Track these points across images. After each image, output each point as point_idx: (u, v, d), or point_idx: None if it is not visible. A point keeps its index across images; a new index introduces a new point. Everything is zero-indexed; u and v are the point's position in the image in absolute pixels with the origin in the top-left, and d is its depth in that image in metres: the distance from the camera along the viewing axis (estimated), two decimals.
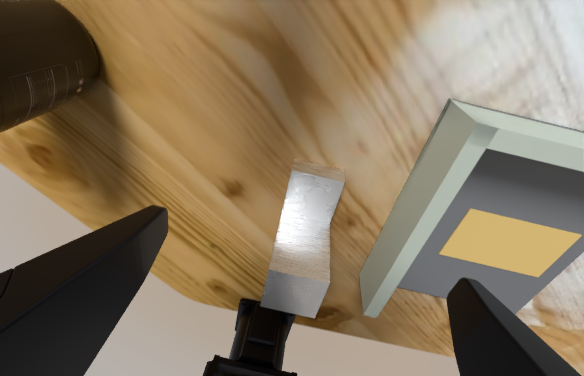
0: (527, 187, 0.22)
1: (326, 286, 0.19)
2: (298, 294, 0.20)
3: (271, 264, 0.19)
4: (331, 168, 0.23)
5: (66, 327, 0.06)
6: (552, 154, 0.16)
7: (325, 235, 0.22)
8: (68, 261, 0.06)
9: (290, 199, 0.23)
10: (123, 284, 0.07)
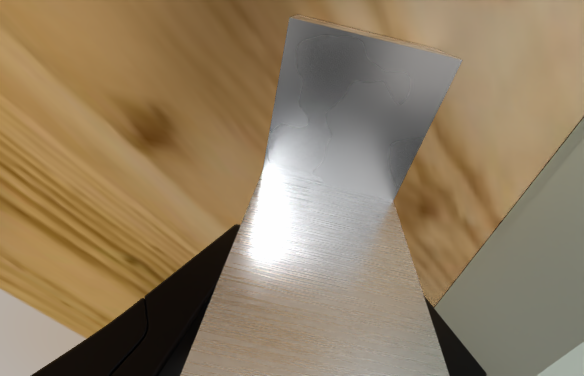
0: None
1: None
2: None
3: (192, 366, 0.04)
4: (403, 41, 0.08)
5: None
6: None
7: (390, 233, 0.07)
8: (189, 289, 0.06)
9: (285, 130, 0.08)
10: None
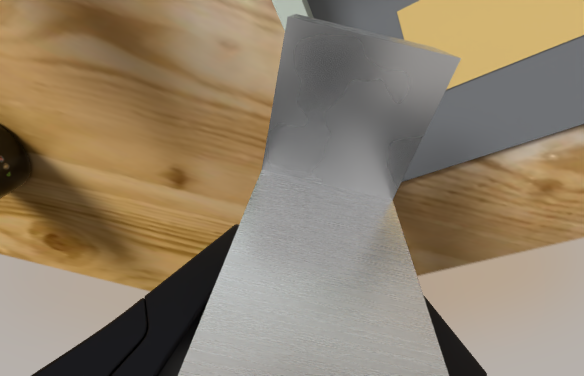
0: None
1: None
2: None
3: (190, 365, 0.04)
4: (402, 40, 0.08)
5: None
6: None
7: (390, 233, 0.07)
8: (189, 288, 0.06)
9: (284, 129, 0.08)
10: None
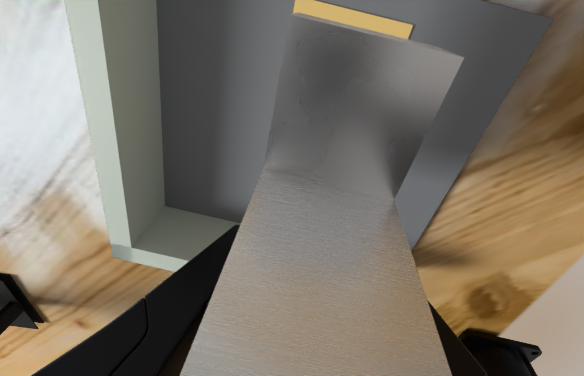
0: (221, 119, 0.16)
1: None
2: None
3: (191, 366, 0.04)
4: (404, 39, 0.08)
5: None
6: (114, 196, 0.14)
7: (391, 233, 0.07)
8: (189, 288, 0.06)
9: (286, 128, 0.08)
10: None
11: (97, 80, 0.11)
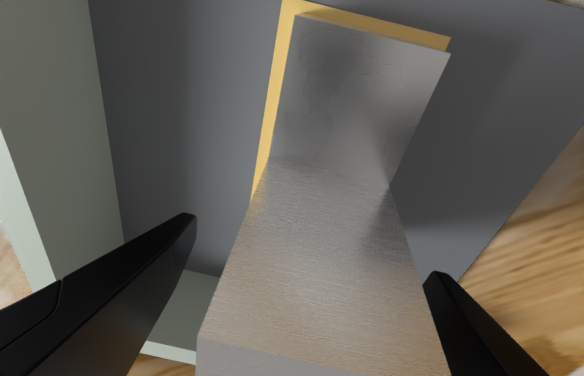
0: (189, 157, 0.12)
1: None
2: None
3: (213, 311, 0.05)
4: (398, 37, 0.09)
5: (111, 337, 0.06)
6: (38, 267, 0.11)
7: (386, 213, 0.08)
8: (112, 271, 0.06)
9: (289, 119, 0.09)
10: (159, 292, 0.07)
11: None
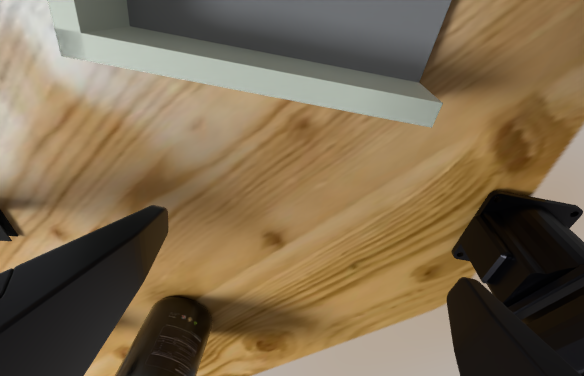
0: None
1: None
2: None
3: None
4: None
5: (66, 327, 0.06)
6: None
7: None
8: (68, 261, 0.06)
9: None
10: (123, 284, 0.07)
11: None
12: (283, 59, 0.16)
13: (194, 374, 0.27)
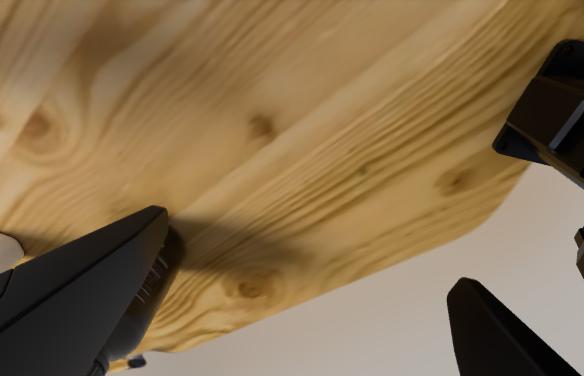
0: None
1: None
2: None
3: None
4: None
5: (66, 327, 0.06)
6: None
7: None
8: (68, 261, 0.06)
9: None
10: (123, 284, 0.07)
11: None
12: None
13: (155, 303, 0.22)
